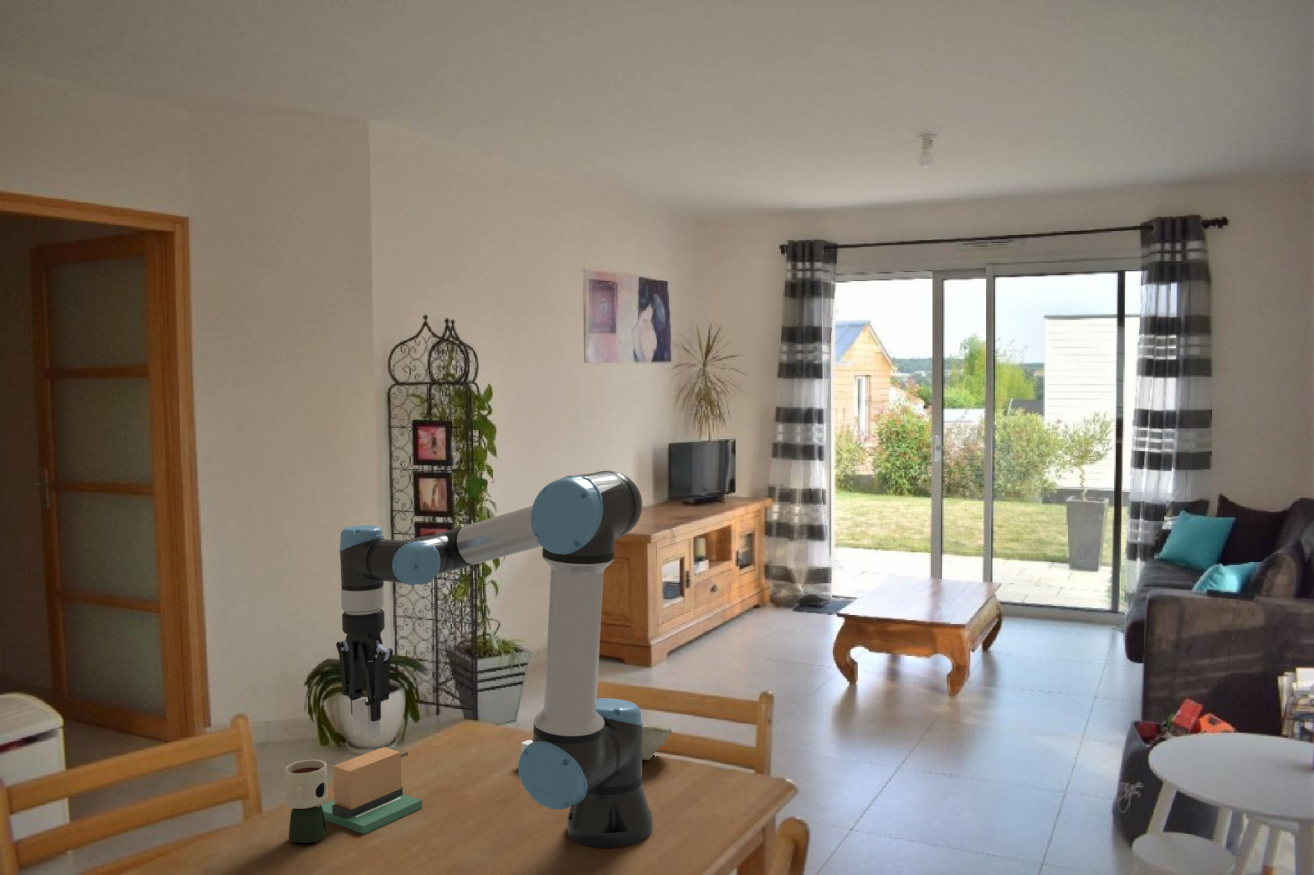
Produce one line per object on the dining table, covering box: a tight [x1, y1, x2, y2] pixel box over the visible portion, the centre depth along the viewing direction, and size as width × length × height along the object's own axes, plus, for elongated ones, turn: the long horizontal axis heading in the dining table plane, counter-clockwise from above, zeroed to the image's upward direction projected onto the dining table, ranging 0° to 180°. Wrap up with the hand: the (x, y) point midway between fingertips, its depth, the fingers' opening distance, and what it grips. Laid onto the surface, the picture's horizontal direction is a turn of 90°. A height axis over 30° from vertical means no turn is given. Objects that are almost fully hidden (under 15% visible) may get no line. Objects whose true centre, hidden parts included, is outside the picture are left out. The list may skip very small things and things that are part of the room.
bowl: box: [642, 723, 673, 761], centre depth 217 cm, size 15×14×10 cm
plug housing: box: [332, 746, 409, 809], centre depth 194 cm, size 5×15×7 cm, turn 145°
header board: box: [320, 786, 423, 835], centre depth 192 cm, size 14×14×7 cm
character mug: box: [283, 759, 329, 844], centre depth 181 cm, size 11×7×13 cm, turn 5°
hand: (366, 735), depth 192 cm, fingers open, 3 cm apart
